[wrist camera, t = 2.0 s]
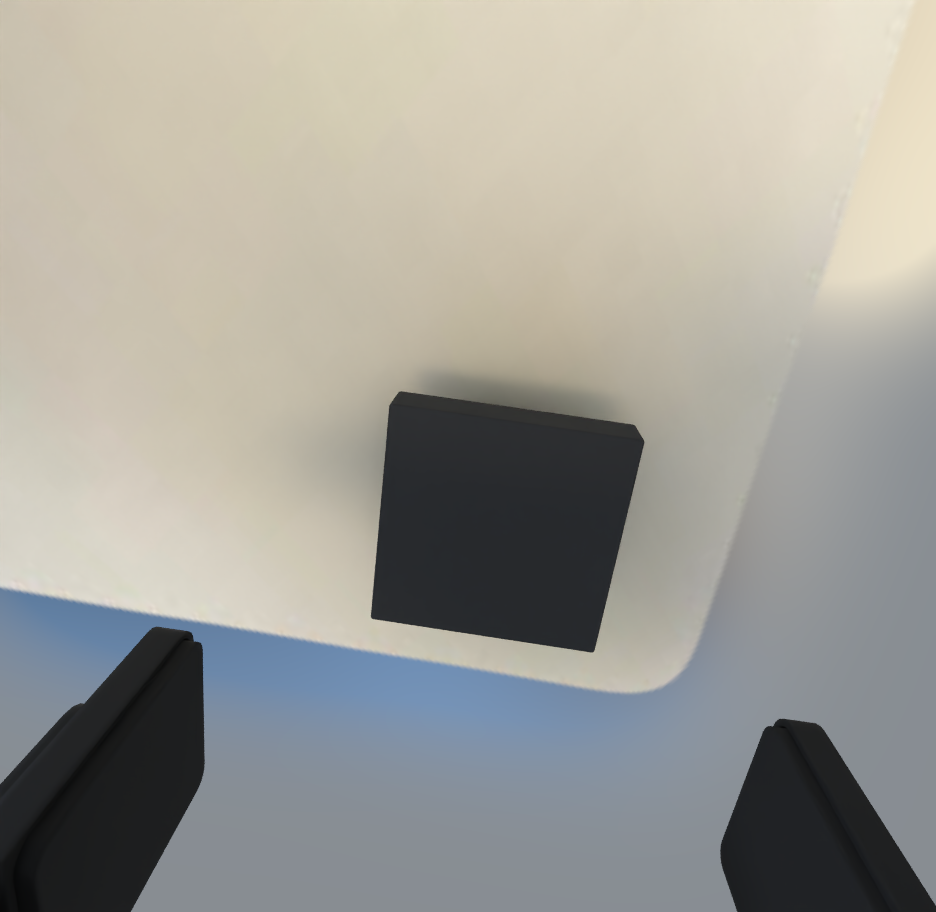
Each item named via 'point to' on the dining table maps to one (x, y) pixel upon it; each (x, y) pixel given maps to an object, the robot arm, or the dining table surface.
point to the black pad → (501, 519)
